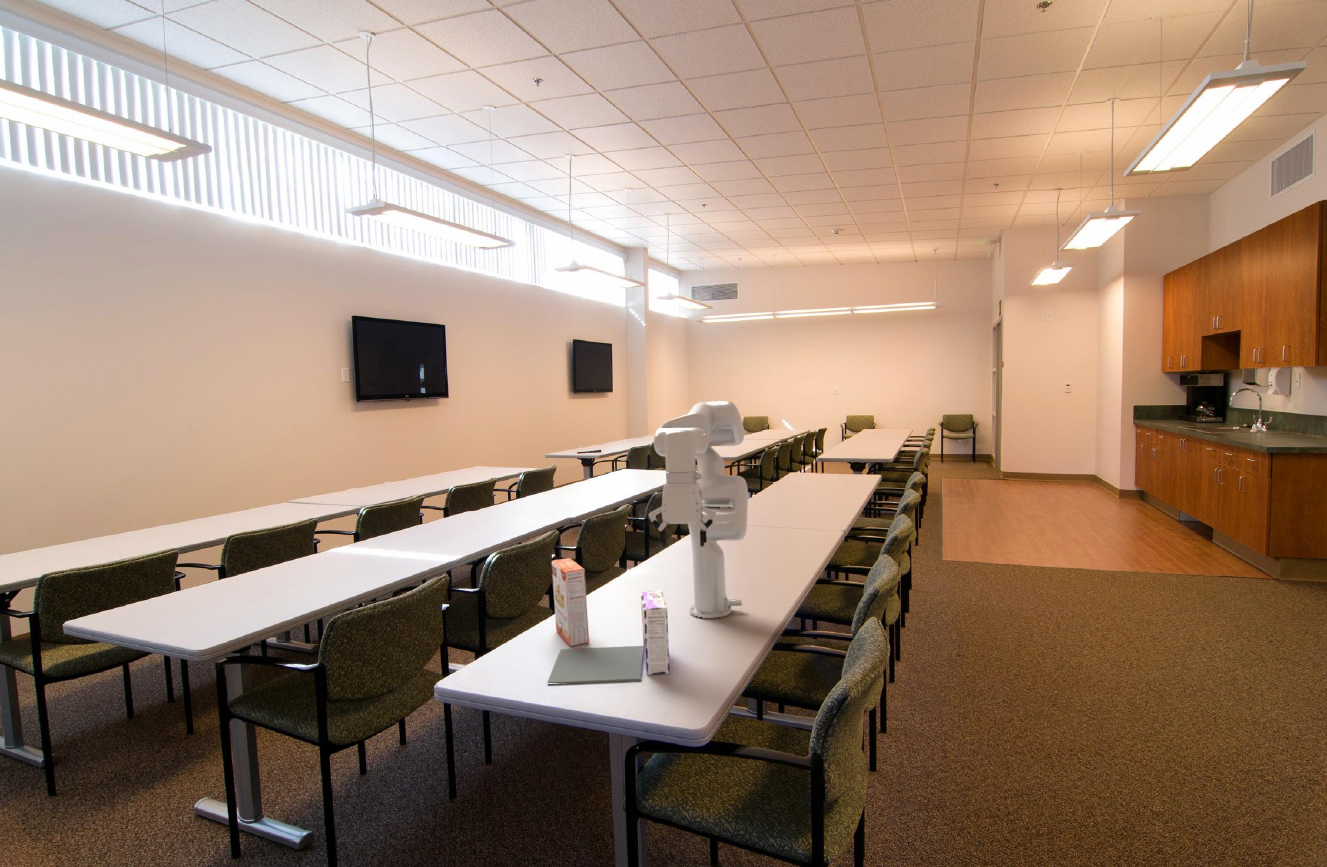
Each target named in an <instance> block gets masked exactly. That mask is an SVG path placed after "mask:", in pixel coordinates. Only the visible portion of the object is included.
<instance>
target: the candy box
mask: <svg viewBox="0 0 1327 867" xmlns="http://www.w3.org/2000/svg"><path fill="white" fill-rule="evenodd" d="M665 600H666V599H665V597H664V594H663V590H652V591H641V592H640V605H641V607H640V608H641V624H642V641H643V642H642V643H643V645H642V646H643V647H644V651H643V659H644V663H645V671H646V672H645V673H646V675H647V676H650V675H651V676H652V675H666V674H667V675H669V674H670V652H669V651H670V650H669V649H670V648H669V647H670V646H669V625H668V624H669V623H668V620H669V619H668V617H669V616H668V607H667V604H666V602H665Z"/></svg>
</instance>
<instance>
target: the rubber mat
mask: <svg viewBox="0 0 1327 867" xmlns="http://www.w3.org/2000/svg"><path fill="white" fill-rule="evenodd" d="M643 650H644V647H643V645H633V646H632V645H631V646H608V647H588V648H587V647H586V648H583V647H582V648H563V649H562V648H561V649H560V650H559V653H558V655H557V657H556V660H555V662H554V665H553V668H552V669H551V670H552V671H551V673H550V675H549V678H548V680H547V682H546V683H582V684H599V683H600V684H601V683H603V684H604V683H622V682H623V683H625V682H626V683H627V682H628V683H629V682H641V681H642V671H643V661H644V660H643V659H644V651H643Z"/></svg>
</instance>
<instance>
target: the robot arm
mask: <svg viewBox="0 0 1327 867" xmlns="http://www.w3.org/2000/svg"><path fill="white" fill-rule="evenodd" d="M742 420H743V419H742V418H741V414H740V412H739V409H738V407H737V406H736V404H735V403H733V401H730V400H718V401H717V400H715V401H711V400H710V401H701V402H698V403H696V404H694V405H693V406H692V407H691V408H690V409H689V411H688V412H687V414H684V415H681V416H678V417H674V418H672V419H669V420H667V421H664V422H663V423H662V424H661V425H660V426H659V427H658V428H657V429H656V432H655V434H654V437H653V448H654V451H655V452H656V454H657V455H658V456H660V457H665V458H664V459H665V480H666V481H665V482H666V483H664V484H663V489H662V496H661V497H662V498H661V499H662V500H661V506H660V507H658V508H656V509H655V510H653V511H651V512H649V513H648V517H649V520H650V522H651V523H652V525H653V526H654V527H655V528H656V529H657V530H658V531H659V544H662V547H663V548H665V547H667V545H668V536H667V535H668V533H667V532H668V531H667V528H666V527H667V525H673V524H674V525H683V524H685V525H686V524H687V527H688V530H689V531H688V532H689V536H690V541H691V542H690V543H691V551H692V569H693V570H692V571H693V592H694V593H693V594H694V595H693V596H694V604H692V605H691V606H690V608H689V612H690V614H691V615H692V616H694V617H696V616H697V617H696V618H700V617H702V618H701V619H719V617H720V618H724V617H727V616H729V615H730V614H731V613H732V607H741V606H743V603H742V599H738V598H737V597H732V598H731V597H728V596H727V590H726V565H725V563H726V562H725V555H724V554H725V553H724V551H723V549H722V547H721V546H720V545H719V544H718V543H717V541H719V542H720V541H722V542H723V541H725V542H726V541H727V542H728V541H731V542H734V541H741V540H743V539H745V537H746V536H747V535H746V534H747V529H748V506H749V505H748V501H749V500H748V499H749V495H748V494H749V491H748V484H747V481H746V480H745V478H744V477H742V476H740V475H730V474H729V475H725V467H726V465H725V464H726V463H725V460H724V458H722V456H721V455H720V454H719V453H718V451H716V450H715V449H714V448H713V447H734V446H735V447H737V446H739V445H742V443H743V441H744V438H745V428H744V426H745V425H744V424H743V421H742ZM696 462H697V463H696ZM696 464H697V467H696ZM696 468H697V470H696ZM708 507H710V508H708ZM711 507H713V508H711ZM714 507H715V508H714ZM716 507H718V508H716ZM719 507H727V508H719ZM729 507H730V508H729ZM659 514H661V518H662V523H661V521H659V520H658V519H657V517H656V516H657V515H659Z"/></svg>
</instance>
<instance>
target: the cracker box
mask: <svg viewBox="0 0 1327 867" xmlns="http://www.w3.org/2000/svg"><path fill="white" fill-rule="evenodd" d="M551 571H552V574H551V575H552V589H553V600H554V601H553V602H554V604H553V605H554V616H555V629H556V632H557V634H559V635H560V637H561V638H562V639H563V640H564V641H565V643H566V644H567V645H568V647H575V646H580V645H584V644H589V643H590V636H589V622H588V621H589V619H588V603H587V602H588V601H587V587H586V586H587V585H586V570H585V568H583V567H582V566H581V565H579V564H578V563H577V562H576V561H574V560H573V559H572V558H570V557H567V558H562V559H554V560H552V561H551Z"/></svg>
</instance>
